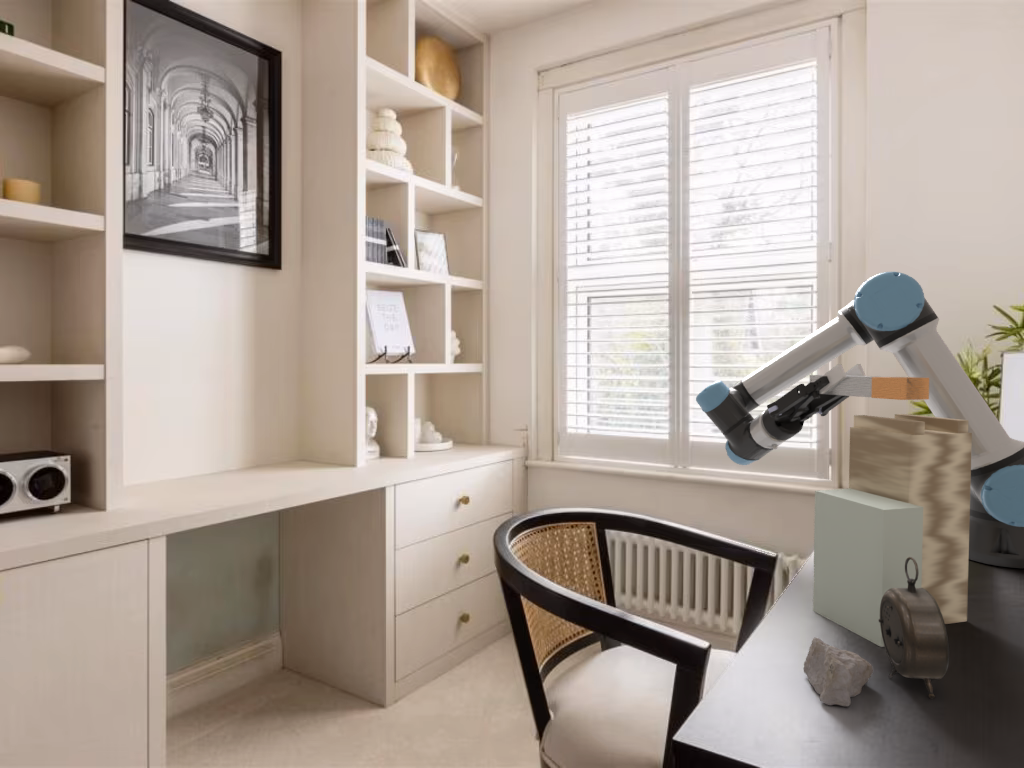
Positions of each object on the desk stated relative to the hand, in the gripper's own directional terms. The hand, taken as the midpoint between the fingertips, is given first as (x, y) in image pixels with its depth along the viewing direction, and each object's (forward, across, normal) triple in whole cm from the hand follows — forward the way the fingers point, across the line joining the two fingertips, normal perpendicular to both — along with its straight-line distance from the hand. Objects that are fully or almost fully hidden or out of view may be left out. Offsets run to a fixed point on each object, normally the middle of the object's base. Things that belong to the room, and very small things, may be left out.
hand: (851, 370), depth 117 cm
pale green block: (-7, +11, -42) cm, 44 cm away
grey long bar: (0, 0, -5) cm, 5 cm away
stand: (-10, 0, -40) cm, 41 cm away
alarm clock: (+7, +19, -50) cm, 54 cm away
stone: (+6, +29, -50) cm, 58 cm away
